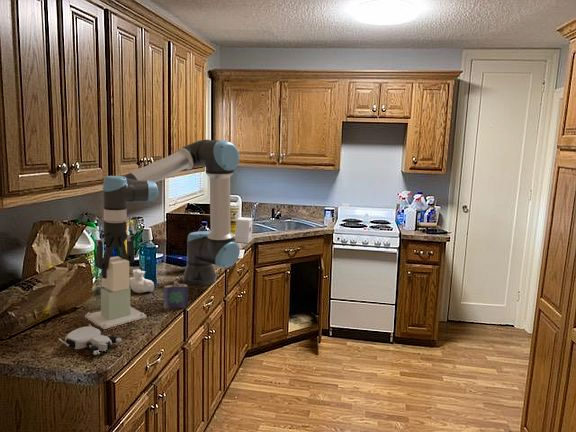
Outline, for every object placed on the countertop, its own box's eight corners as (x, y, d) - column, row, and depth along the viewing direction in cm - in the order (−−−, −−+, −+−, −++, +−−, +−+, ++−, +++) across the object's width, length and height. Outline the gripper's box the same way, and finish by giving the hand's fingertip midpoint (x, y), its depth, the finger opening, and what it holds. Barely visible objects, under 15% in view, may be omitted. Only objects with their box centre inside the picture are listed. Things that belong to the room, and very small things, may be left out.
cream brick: (117, 282, 167) (117, 256, 166) (129, 288, 162) (129, 261, 160) (102, 285, 163) (101, 258, 161) (113, 291, 158) (113, 263, 156)
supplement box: (248, 243, 288) (249, 220, 285) (234, 242, 289) (235, 219, 287) (252, 240, 297) (253, 217, 294) (238, 239, 298) (239, 216, 296)
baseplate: (126, 307, 175) (126, 302, 175) (146, 318, 166) (146, 313, 166) (84, 318, 163) (84, 313, 163) (104, 330, 154) (104, 325, 154)
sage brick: (121, 309, 169) (121, 284, 168) (130, 314, 165) (130, 288, 164) (101, 315, 163) (100, 288, 162) (109, 320, 159) (109, 293, 158)
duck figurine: (127, 294, 194) (117, 279, 186) (135, 280, 199) (126, 264, 191) (152, 298, 191) (143, 283, 183) (160, 284, 196) (151, 268, 188)
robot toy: (124, 347, 145) (87, 334, 150) (124, 334, 145) (87, 321, 150) (95, 364, 134) (56, 349, 139) (96, 350, 133) (57, 336, 138)
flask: (163, 309, 175) (163, 282, 173) (163, 307, 178) (163, 280, 176) (188, 308, 178) (188, 281, 176) (187, 305, 181) (187, 279, 179)
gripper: (134, 216, 168) (134, 276, 172) (83, 221, 154) (84, 287, 158) (145, 219, 163) (145, 281, 167) (93, 225, 149) (94, 293, 153)
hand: (115, 284), depth 162 cm, fingers closed on cream brick, 6 cm apart
